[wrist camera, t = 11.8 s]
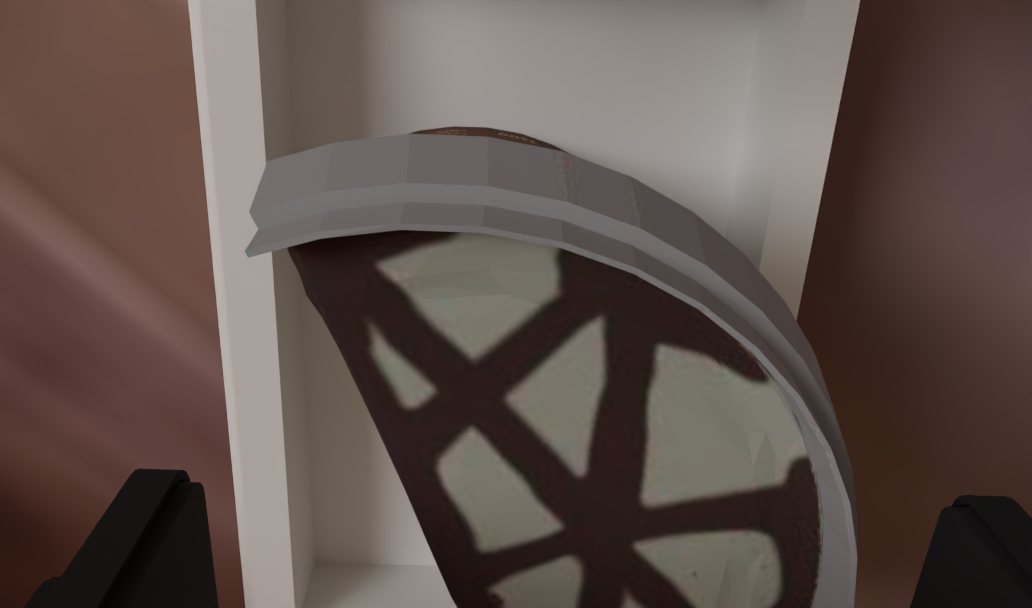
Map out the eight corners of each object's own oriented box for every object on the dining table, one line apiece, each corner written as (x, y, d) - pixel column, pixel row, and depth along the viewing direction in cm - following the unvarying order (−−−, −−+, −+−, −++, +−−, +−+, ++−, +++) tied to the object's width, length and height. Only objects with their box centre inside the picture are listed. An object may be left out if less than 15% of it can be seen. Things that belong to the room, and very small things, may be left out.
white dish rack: (885, -256, 17) (1597, -624, 6) (714, 650, 26) (875, 1136, 15) (176, -307, 16) (-440, -831, 5) (260, 645, 25) (97, 1153, 15)
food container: (760, 446, 22) (961, 803, 13) (539, 516, 23) (580, 903, 13) (627, -28, 17) (794, -5, 8) (355, 76, 18) (221, 206, 9)
